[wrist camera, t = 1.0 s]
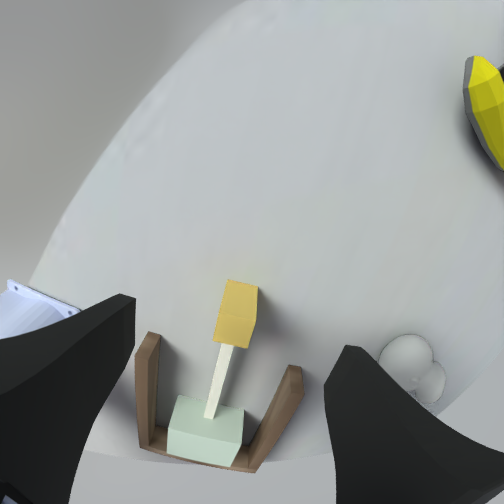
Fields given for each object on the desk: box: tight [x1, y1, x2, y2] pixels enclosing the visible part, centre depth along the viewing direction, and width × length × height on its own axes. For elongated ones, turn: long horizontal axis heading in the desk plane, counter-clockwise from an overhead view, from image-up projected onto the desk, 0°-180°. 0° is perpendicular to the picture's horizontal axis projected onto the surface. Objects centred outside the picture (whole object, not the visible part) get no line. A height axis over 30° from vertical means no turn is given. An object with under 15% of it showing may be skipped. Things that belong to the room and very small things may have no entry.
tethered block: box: [167, 280, 258, 467], centre depth 20 cm, size 6×18×4 cm, turn 166°
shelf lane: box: [135, 331, 305, 473], centre depth 22 cm, size 12×14×3 cm
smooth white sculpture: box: [378, 334, 446, 404], centre depth 19 cm, size 4×8×5 cm
